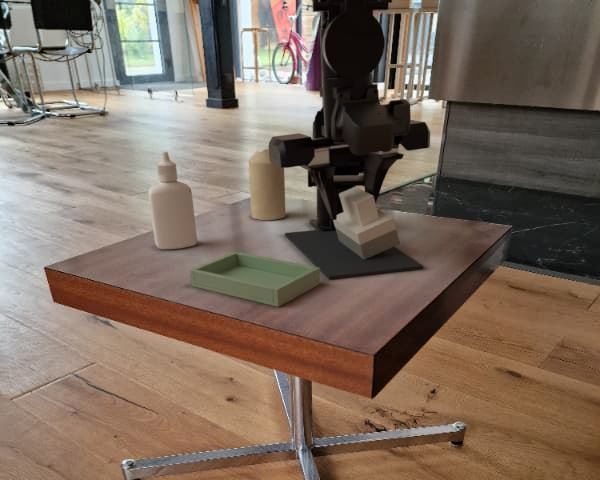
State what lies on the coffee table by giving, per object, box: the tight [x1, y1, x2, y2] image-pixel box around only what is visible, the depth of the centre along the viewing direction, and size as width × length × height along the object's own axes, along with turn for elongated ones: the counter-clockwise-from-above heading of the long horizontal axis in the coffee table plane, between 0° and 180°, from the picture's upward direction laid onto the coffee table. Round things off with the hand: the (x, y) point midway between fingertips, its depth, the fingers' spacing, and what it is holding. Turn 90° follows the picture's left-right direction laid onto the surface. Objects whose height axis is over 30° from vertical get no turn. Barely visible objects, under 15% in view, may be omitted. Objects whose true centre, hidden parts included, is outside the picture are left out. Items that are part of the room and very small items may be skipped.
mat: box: [284, 229, 424, 280], centre depth 75 cm, size 20×12×1 cm, turn 16°
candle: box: [248, 148, 286, 221], centre depth 90 cm, size 6×6×10 cm
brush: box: [333, 186, 400, 260], centre depth 73 cm, size 9×5×6 cm, turn 17°
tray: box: [189, 251, 321, 308], centre depth 64 cm, size 12×8×2 cm
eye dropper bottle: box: [147, 151, 198, 250], centre depth 76 cm, size 4×6×12 cm
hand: (351, 216), depth 72 cm, fingers open, 4 cm apart
